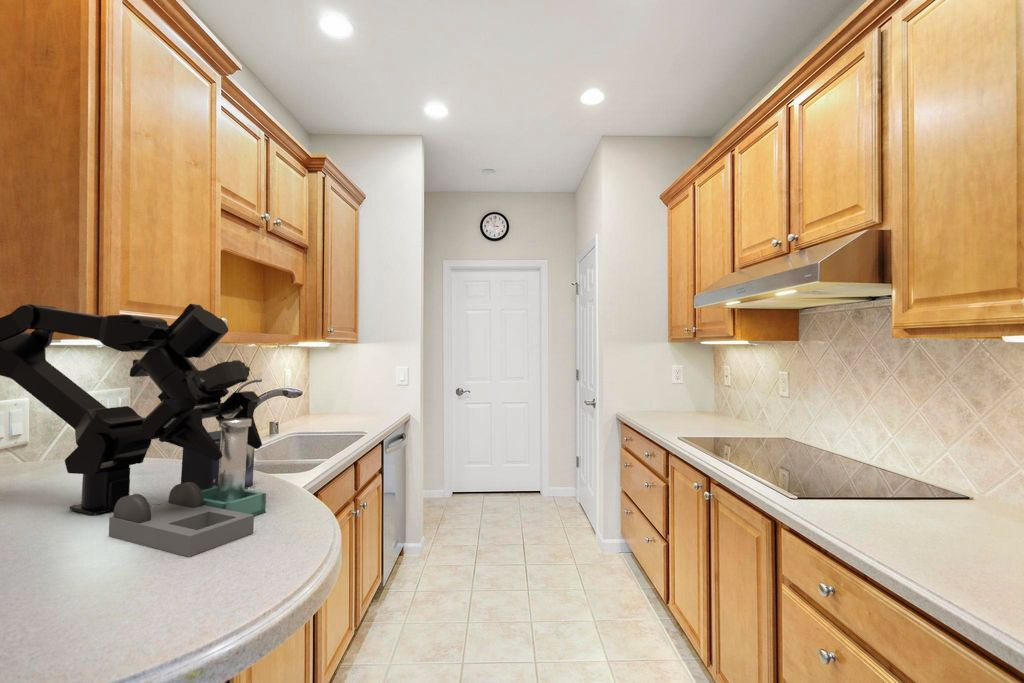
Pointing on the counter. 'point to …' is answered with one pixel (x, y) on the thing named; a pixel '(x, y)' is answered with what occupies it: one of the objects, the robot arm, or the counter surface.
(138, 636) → the counter surface
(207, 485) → the small box
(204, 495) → the tray
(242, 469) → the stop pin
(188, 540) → the socket plate with bumps
